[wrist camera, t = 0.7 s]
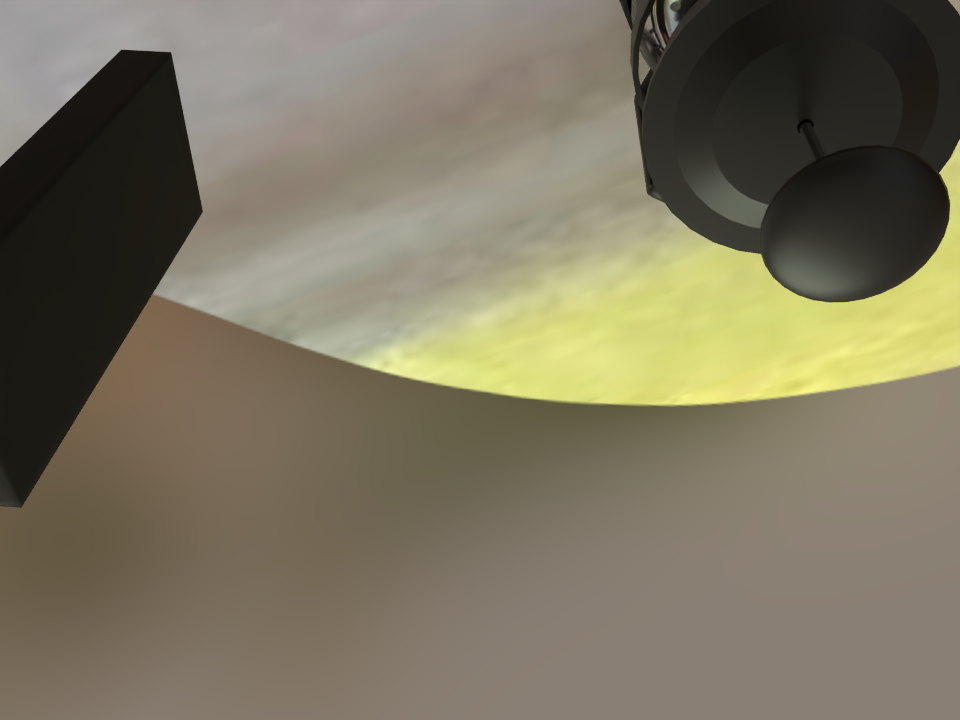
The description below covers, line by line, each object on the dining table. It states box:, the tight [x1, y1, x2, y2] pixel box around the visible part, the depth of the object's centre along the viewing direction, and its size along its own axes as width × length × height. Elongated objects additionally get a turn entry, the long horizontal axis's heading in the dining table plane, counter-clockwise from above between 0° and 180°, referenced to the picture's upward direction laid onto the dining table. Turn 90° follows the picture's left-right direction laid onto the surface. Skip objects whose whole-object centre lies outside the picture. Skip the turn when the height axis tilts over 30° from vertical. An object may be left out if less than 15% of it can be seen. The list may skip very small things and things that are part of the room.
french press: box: [620, 0, 960, 302], centre depth 30 cm, size 12×9×23 cm
